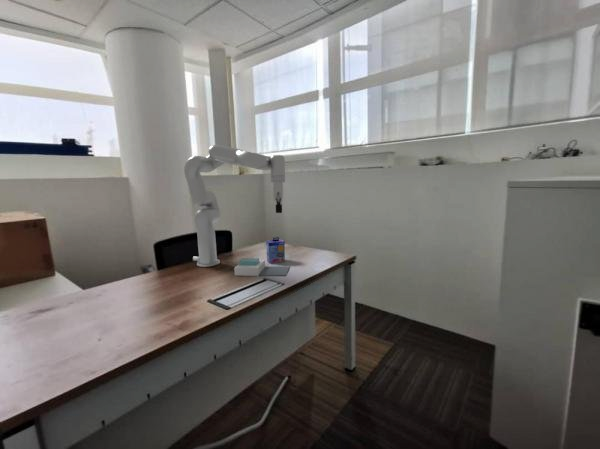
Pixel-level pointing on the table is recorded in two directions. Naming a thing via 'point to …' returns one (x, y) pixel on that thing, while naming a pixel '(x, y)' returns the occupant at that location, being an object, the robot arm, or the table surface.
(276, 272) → the mat
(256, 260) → the teal tile
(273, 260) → the ink cartridge box
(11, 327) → the table surface
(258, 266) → the grey flat block
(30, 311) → the table surface
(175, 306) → the table surface
